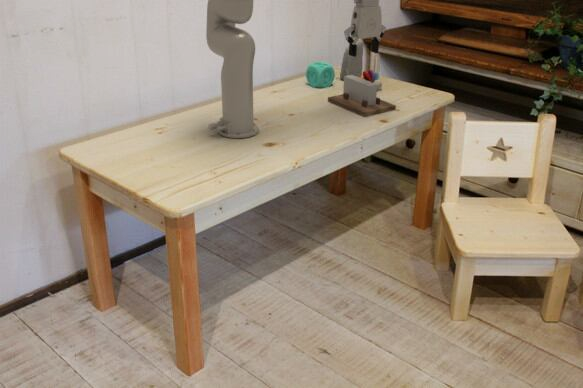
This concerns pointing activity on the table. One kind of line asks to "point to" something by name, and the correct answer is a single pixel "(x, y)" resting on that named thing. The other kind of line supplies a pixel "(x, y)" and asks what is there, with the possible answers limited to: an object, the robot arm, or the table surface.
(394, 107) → the brown board
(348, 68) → the decorative stone
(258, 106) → the table surface
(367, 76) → the rainbow petal toy
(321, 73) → the decorative dice
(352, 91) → the gray rectangular block
